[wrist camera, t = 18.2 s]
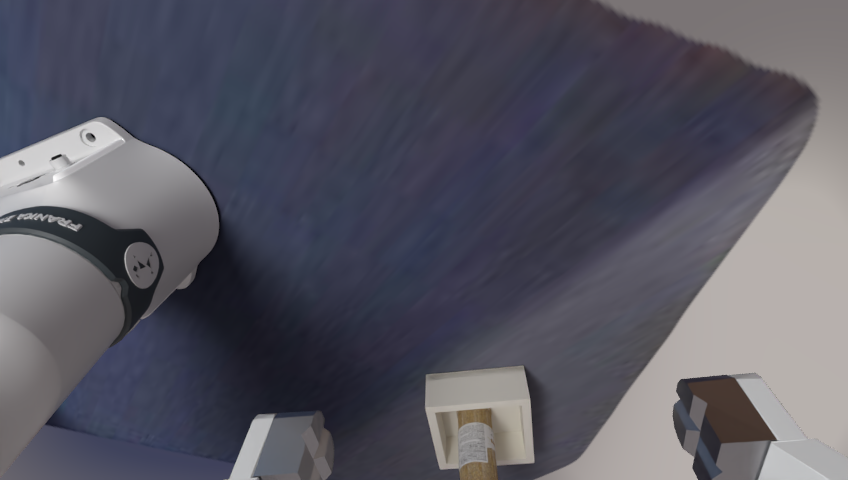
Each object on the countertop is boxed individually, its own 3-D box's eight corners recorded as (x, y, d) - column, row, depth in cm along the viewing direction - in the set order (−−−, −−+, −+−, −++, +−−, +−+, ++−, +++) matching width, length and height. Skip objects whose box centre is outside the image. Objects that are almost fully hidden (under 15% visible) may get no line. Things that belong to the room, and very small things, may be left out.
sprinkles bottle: (491, 421, 62) (504, 529, 50) (456, 422, 62) (461, 530, 51) (491, 397, 59) (503, 505, 48) (454, 399, 60) (458, 506, 48)
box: (439, 435, 65) (439, 469, 61) (426, 374, 59) (425, 407, 55) (528, 428, 64) (534, 462, 59) (523, 365, 58) (530, 398, 53)
